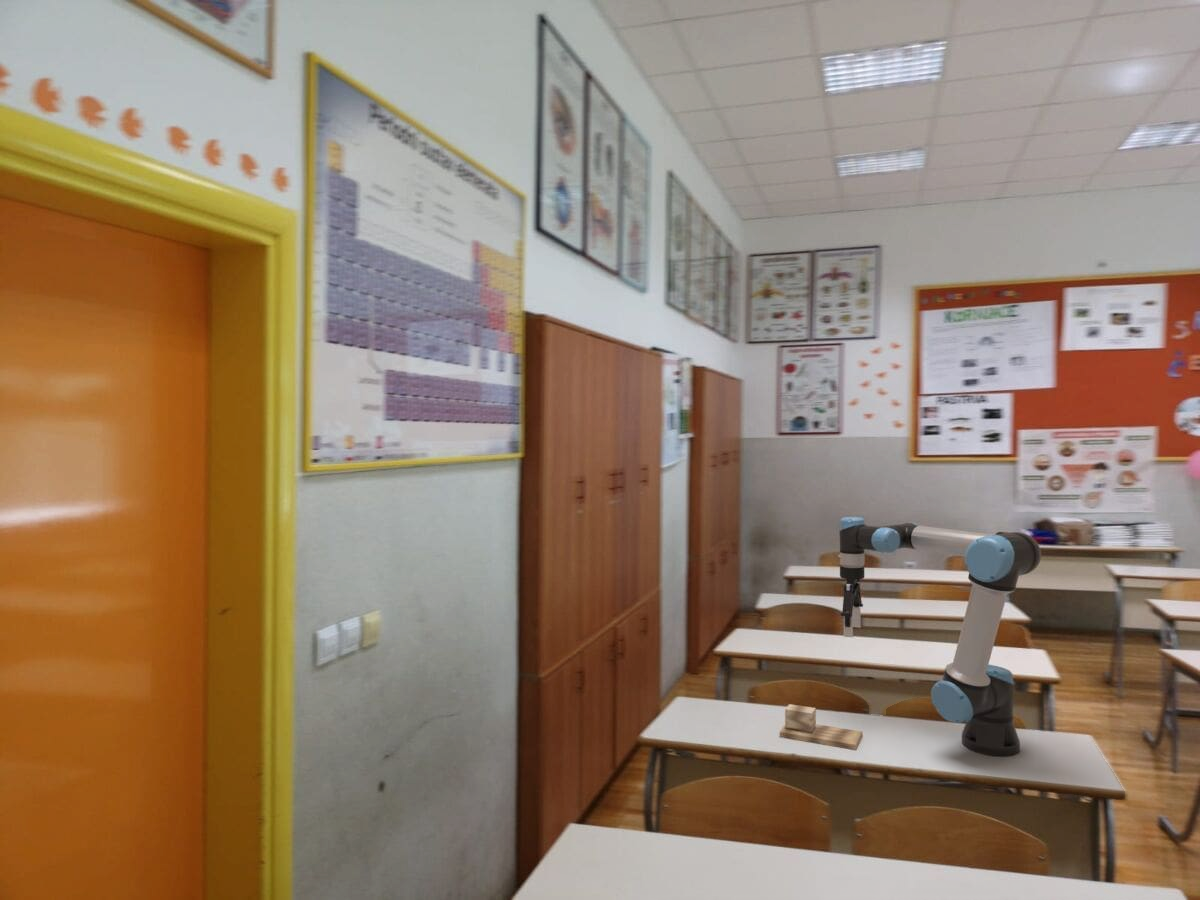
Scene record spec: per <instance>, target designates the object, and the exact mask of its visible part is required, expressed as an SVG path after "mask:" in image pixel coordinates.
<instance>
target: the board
mask: <svg viewBox="0 0 1200 900" xmlns="http://www.w3.org/2000/svg"><path fill="white" fill-rule="evenodd" d="M779 737H780V738H782V739H783V738H784V739H790V740H795V741H800V742H807V743H813V744H817V745H818V744H820V745H824V746H830V747H836V748H841V749H842V748H843V749H848V750H853V751H856V750H857V748H858V747H859V744H860V742H861V740H863V739H862V738H863V731H860V730H854V729H847V728H841V727H837V726H832V725H831V726H829V725H822V724H818V723H816V728H815V730H814V731H813V733H806V732H800V731H794V730H788V729H785V725H784V726H783V727H782V728H781V729H780V731H779Z"/></svg>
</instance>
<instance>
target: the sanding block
mask: <svg viewBox="0 0 1200 900" xmlns="http://www.w3.org/2000/svg"><path fill="white" fill-rule="evenodd" d="M816 713H817V710H816V707H811V706H803V705H797V704H789V703H788V705H787V706H786V707H785V709H784V726H785V729H788V730H794V731H800V732H806V733H813V731H814V730H815V728H816V724H817V723H816V721H817V718H816V716H817V715H816Z"/></svg>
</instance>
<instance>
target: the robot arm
mask: <svg viewBox="0 0 1200 900" xmlns="http://www.w3.org/2000/svg"><path fill="white" fill-rule="evenodd" d="M865 524H866V523H865V519H864V518H863V517H859V516H845V517H842V518H841V519H840V521H839V531H838V532H839V554H837V557H838V558H840V559H839V564H840V566H839V577H840V578H841V579H843V580H846V583H844V585H843V598H842V599H843V600H842V601H843V602H842V611H841V613H840V616H841V617H843V637H845V638H851V639H852V638H854V628H859V629H860V628H861V627H862V626H861V608H863V607H864V603H862V602H863V601H862V594H861V592H862V591H861V584H860V583H861V581H860V580H863V579H864V578H865V567H864V565H865V564H866V563H865V550H868V551H874V552H879V553H882V554H884V553H887V554H888V553H889V554H891V553H894V552H896V550H898V549H911V550H919V551H926V552H932V553H939V554H944V555H951V556H958V557H964V564H965V566H966V570H967V571H968V576H967V579H968V581H969V582H970V583H971V590H970V595H969V597H968V602H967V607H966V610H965V613H964V616H963V617H964V618H963V622H962V626H961V630H960V634H959V638H958V641H957V644H956V650H955V654H954V656H953V661H952V662H951V663H949V664H948V663H947V664H946V665H945V668H944V671H943V672H944V673H943V677H942V679H941V680H939V681H937V682H936V683H934V685H933V686H932V688H931V691H930V695H931V696H930V698H931V702H932V704H933V706H934V707H935V710H936V711H937V713H938V714H939V715H940V716H941V717H942V718H943V719H945V720H946V721H948V722H951V723H954V724H961V723H965V724H964V727H963V730H962V733H961V744H963V746H964V747H965V748H967V749H969V750H972V751H974V752H976V753H979V754H984V755H990V756H995V757H1006V756H1010V757H1011V756H1013V755H1016V754H1019V753H1020V751H1021V741H1020V738H1019V735H1018V732H1017V730H1016V727H1015V724H1014V685H1015V683H1014V674H1013V673H1012V671H1011V670H1010V669H1007V668H1004V667H1002V666H997V665H993V664H990V660H991V657H992V656H991V655H992V652H993V649H994V646H995V641H996V637H997V633H998V630H999V627H1000V623H1001V620H1002V619H1001V618H1002V615H1003V613H1004V612H1003V611H1004V607H1005V604H1006V600H1007V596H1008V595H1009V594H1011V593H1013V592H1015V590H1016V588H1017V583H1018V579H1019V576H1020V577H1021V576H1024V575H1028V574H1030V573H1031V572H1033V571H1034V570H1036V568H1037V567H1038V566H1039V564H1040V562H1041V559H1042V551H1041V548H1040V545H1039V544H1038V542H1037V541H1036V540H1035V539H1034V538H1033V537H1032V536H1030V535H1028V534H1027V533H1023V532H1016V531H1015V532H1013V531H1012V532H1007V531H1006V532H1005V531H996V532H995V533H994V534H992V533H983V532H975V531H969V530H968V531H967V530H958V529H950V528H942V527H933V526H932V527H931V526H926V525H919V524H918V523H915V522H913V523H912V522H905V523H899V524H891V525H889V524H888V525H881V526H875V525H873V526H872V525H867V524H866V525H865Z"/></svg>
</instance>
